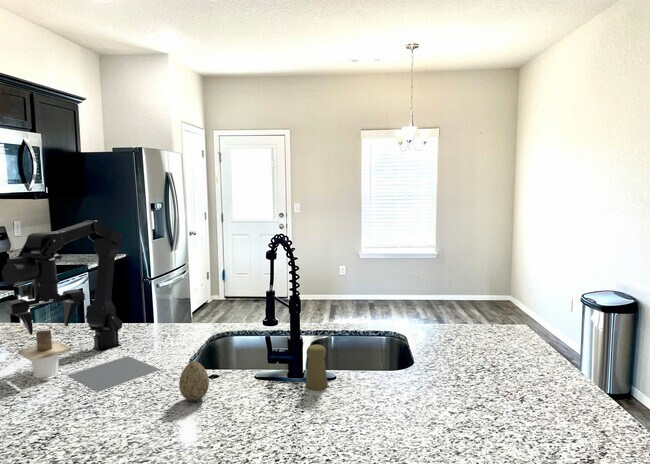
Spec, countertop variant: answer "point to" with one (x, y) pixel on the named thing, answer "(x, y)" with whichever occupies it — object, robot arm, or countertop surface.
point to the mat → (112, 373)
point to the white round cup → (45, 366)
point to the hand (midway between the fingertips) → (49, 330)
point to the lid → (44, 347)
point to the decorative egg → (194, 381)
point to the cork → (316, 368)
